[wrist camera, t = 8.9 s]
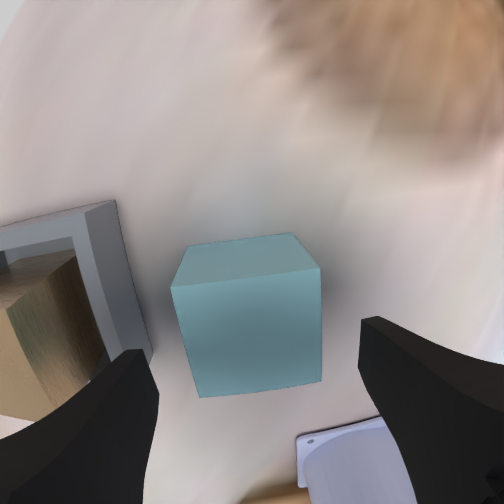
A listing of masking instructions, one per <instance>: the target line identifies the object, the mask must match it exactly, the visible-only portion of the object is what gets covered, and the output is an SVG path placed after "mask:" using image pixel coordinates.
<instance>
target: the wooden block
mask: <svg viewBox="0 0 504 504" xmlns="http://www.w3.org/2000/svg"><path fill="white" fill-rule="evenodd" d="M105 350H106V347H105V344H104V342H103V339H102V336H101V333H100V331H99V328H98V325H97V322H96V319H95V316H94V313H93V310H92V307H91V304H90V301H89V298H88V295H87V292H86V288H85V285H84V282H83V278H82V275H81V271H80V267H79V264H78V260H77V256H76V252H75V249H70V250H65V251H59V252H53V253H48V254H43V255H37V256H32V257H27V258H22V259H18V260H16V261H14V262H13V263H11V264H9V265H8V266H6V267H5V268H3V269H1V270H0V414H1V415H5V416H9V417H14V418H19V419H24V420H29V421H34V422H37V421H39V420H40V419H42V418H44V417H45V416H47V415H48V414H50V413H51V412H53V411H54V410H55V409H57V408H58V407H60V406H61V405H62V404H64V403H65V402H66V401H68V400H69V399H70V398H71V397H72V396H74V395H75V394H76V393H77V392H78V391H80V390H81V389H82V388H83V387H84V386H86V385H87V383H88V381H89V379H90V377H91V376H92V374H93V372H94V370H95V368H96V366H97V364H98V363H99V361H100V359H101V357H102V355H103V353H104V352H105Z"/></svg>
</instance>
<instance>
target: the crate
mask: <svg viewBox="0 0 504 504" xmlns="http://www.w3.org/2000/svg"><path fill="white" fill-rule="evenodd" d="M70 249H75V252H76V256H77V260H78V264H79V267H80V271H81V275H82V278H83V282H84V285H85V288H86V292H87V295H88V298H89V301H90V304H91V307H92V310H93V313H94V316H95V319H96V322H97V325H98V328H99V331H100V333H101V336H102V339H103V342H104V344H105V347H106V350H105V352H104V353H103V355H102V357H101V359H100V361H99V363H98V364H97V366H96V368H95V370H94V372H93V374H92V376H91V377H90V379H89V381H88V383H89V382H90V381H91V380H92V379H93V378H95V377H96V376H97V375H98V374H99V373H100V372H101V371H102V370H103V369H104V368H105V367H107V366H108V365H109V364H110V363H111V362H112V361H113V360H114V359H115V358H116V357H118V356H119V355H120V354H121V353H122V352H124V351H125V350H126V349H143V351H144V354H145V357H146V359H147V362H148V365H149V364H150V361H151V358H152V355H153V350H152V347H151V344H150V341H149V338H148V334H147V331H146V328H145V325H144V321H143V318H142V314H141V311H140V307H139V304H138V300H137V296H136V293H135V289H134V285H133V281H132V277H131V273H130V269H129V265H128V261H127V256H126V252H125V248H124V243H123V238H122V234H121V229H120V224H119V219H118V213H117V208H116V202H115V200H111V201H106V202H101V203H96V204H91V205H87V206H82V207H78V208H73V209H69V210H65V211H60V212H56V213H52V214H48V215H44V216H40V217H36V218H32V219H28V220H24V221H21V222H17V223H13V224H10V225H6V226H2V227H0V270H1V269H3V268H5V267H6V266H8V265H9V264H11V263H13V262H14V261H16V260H18V259H22V258H27V257H32V256H37V255H43V254H48V253H53V252H59V251H65V250H70ZM88 383H87V384H88Z"/></svg>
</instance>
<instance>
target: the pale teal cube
mask: <svg viewBox="0 0 504 504" xmlns="http://www.w3.org/2000/svg"><path fill="white" fill-rule="evenodd" d="M170 289H171V294H172V298H173V302H174V306H175V311H176V315H177V319H178V323H179V327H180V331H181V335H182V338H183V342H184V346H185V350H186V353H187V357H188V361H189V364H190V368H191V371H192V375H193V378H194V382H195V385H196V388H197V392H198V395H199V398H203V397H216V396H227V395H236V394H245V393H253V392H261V391H268V390H275V389H281V388H288V387H294V386H300V385H305V384H311V383H316V382H321V381H322V312H321V276H320V267H319V266H318V264H317V263H316V262H315V261H314V259H313V258H312V257H311V256H310V254H309V253H308V252H307V251H306V249H305V248H304V247H303V246H302V244H301V243H300V242H299V241H298V239H297V238H296V237H295V236H294V234H293V233H285V234H277V235H269V236H261V237H254V238H246V239H238V240H231V241H223V242H215V243H208V244H201V245H193V246H188V248H187V250H186V252H185V254H184V257H183V259H182V261H181V263H180V266H179V268H178V270H177V273H176V275H175V277H174V280H173V282H172V284H171V287H170Z"/></svg>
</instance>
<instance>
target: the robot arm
mask: <svg viewBox="0 0 504 504" xmlns="http://www.w3.org/2000/svg"><path fill="white" fill-rule="evenodd" d="M358 369H359V372H360V374H361V377H362V380H363V382H364V385H365V387H366V389H367V392H368V393H369V395H370V397H371V399H372V401H373V402H374V404H375V406H376V408H377V409H378V411H379V413H380V415H381V417H378V418H374V419H371V420H367V421H364V422H360V423H356V424H352V425H348V426H344V427H340V428H336V429H332V430H327V431H323V432H318V433H313V434H308V435H303V436H300V437H298V438H297V440H296V447H297V480H298V487H301V488H303V487H308V491H309V496H310V500H311V504H504V365H502V364H497V363H492V362H488V361H484V360H480V359H476V358H473V357H470V356H467V355H464V354H461V353H458V352H455V351H453V350H450V349H448V348H445V347H443V346H440V345H438V344H436V343H434V342H431V341H429V340H427V339H425V338H423V337H421V336H419V335H417V334H415V333H413V332H411V331H409V330H407V329H405V328H403V327H401V326H399V325H397V324H395V323H393V322H391V321H389V320H386V319H384V318H382V317H380V316H374V317H370V318H365V319H361V332H360V346H359V358H358ZM158 405H159V392H158V389H157V386H156V384H155V381H154V379H153V376H152V373H151V371H150V368H149V365H148V362H147V359H146V357H145V354H144V351H143V349H126V350H125V351H124V352H122V353H121V354H120V355H119V356H118V357H116V358H115V359H114V360H113V361H112V362H111V363H110V364H109V365H108V366H107V367H105V368H104V369H103V370H102V371H101V372H100V373H99V374H98V375H97V376H96V377H95V378H93V379H92V380H91V381H90V382H89V383H88V384H87V385H86V386H84V387H83V388H82V389H81V390H80V391H78V392H77V393H76V394H75V395H74V396H72V397H71V398H70V399H69V400H68V401H66V402H65V403H64V404H62V405H61V406H60V407H58V408H57V409H55V410H54V411H53V412H51V413H50V414H48V415H47V416H45V417H44V418H42V419H40V420H39V421H37V422H35V423H33V424H31V425H29V426H28V427H26V428H24V429H22V430H20V431H18V432H16V433H14V434H12V435H10V436H7V437H5V438H3V439H0V504H143V488H144V478H145V472H146V467H147V462H148V458H149V453H150V449H151V444H152V440H153V436H154V431H155V427H156V422H157V416H158Z"/></svg>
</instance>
